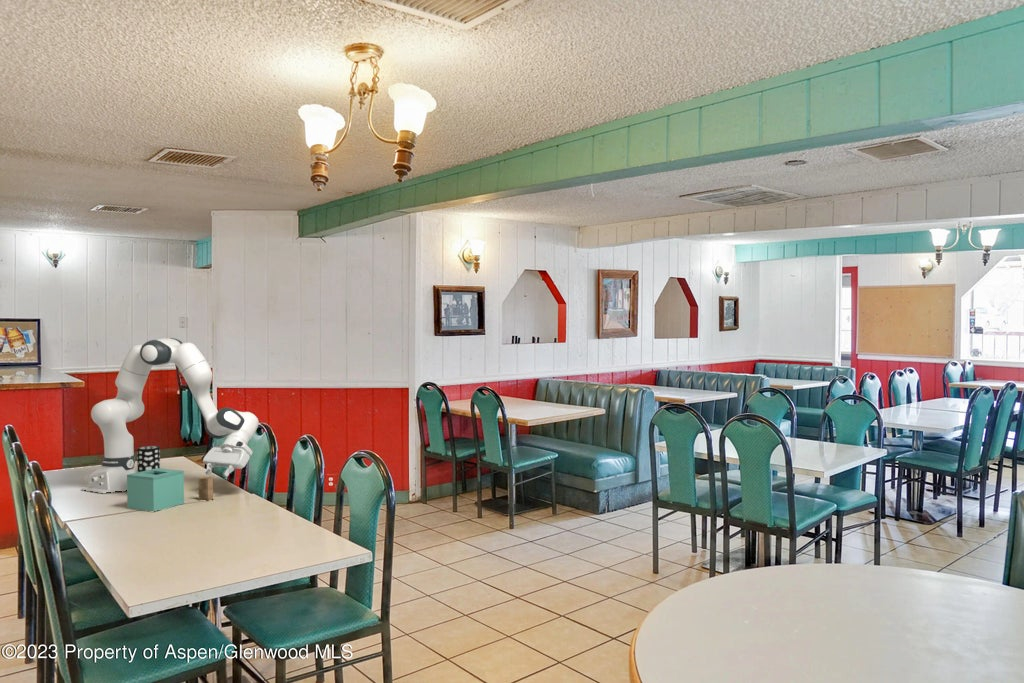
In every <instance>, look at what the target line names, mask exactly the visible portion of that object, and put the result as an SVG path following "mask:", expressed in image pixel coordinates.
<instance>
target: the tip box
mask: <svg viewBox="0 0 1024 683" xmlns="http://www.w3.org/2000/svg"><path fill="white" fill-rule="evenodd" d="M184 474H185V471H184V470H179V469H169V468H161V467H160V468H156V469H151V470H146V471H142V472H137V471H136V473H132V474H128V475H127V491H126V494H127V495H126V496H127V497H126V500H127V501H126V502H127V504H126V505H127V506H126V507H127V509H128V508H131V509H130V510H135V509H138V510H137V511H142V510H147V511H146V512H149V511H156V512H158V511H157V510H160V511H162V510H161V509H164V508H167V509H169V508H168V507H171V508H173V507H172V506H174V507H176V506H175V505H178V506H181V505H184V504H185V477H184V476H185V475H184ZM183 503H184V504H183ZM180 504H181V505H180ZM164 510H165V509H164Z"/></svg>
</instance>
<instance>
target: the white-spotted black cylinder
mask: <svg viewBox="0 0 1024 683" xmlns="http://www.w3.org/2000/svg"><path fill="white" fill-rule="evenodd" d="M136 454H137V455H136V460H137V461H136V463H137V465H136V466H137V471H136V473H137V472H142V471H146V470H151V469H156V468H161V447H160V446H159V445H147V446H139V447H137V448H136Z"/></svg>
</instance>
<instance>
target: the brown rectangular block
mask: <svg viewBox="0 0 1024 683" xmlns="http://www.w3.org/2000/svg"><path fill="white" fill-rule="evenodd" d="M212 499H213V500H214V477H210V476H208V477H207V476H201V477H198V501H200V500H206V501H205V502H210V501H209V500H212ZM213 500H212V501H213Z"/></svg>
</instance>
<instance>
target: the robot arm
mask: <svg viewBox="0 0 1024 683" xmlns="http://www.w3.org/2000/svg"><path fill="white" fill-rule="evenodd" d="M169 364H175V366H176V367H177V368H178V370H179V371H180V373H181V375H182V377H183V378H184V380H185V382H186V384H187V385H188V388H189V390H190V392H191V394H192V398H193V400H194V401H195V403H196V404H195V405H197V408H198V410H199V412H200V414H201V416H202V419H203V421H204V429H205V432H206V434H207V435H208V436H209V437H211V438H212V439H217V440H218V439H219V440H220V439H223V438H225V437H226V438H225V439H224V441H223V442H222V444H221V445H216V446H213V447H212V448H211V449H209V450H208V452H207V453H206V454H205V456H204V457H203V459H202V461H203V463H204V464H205V465H206V470H205V471H204V474H205V475H212V474H211V473H212V472H213V471H212V469H213V468H214V467H219V468H227V469H226V470H223V472H222V476H223V477H228V476H229V475H230V474H231V473H233V472H234V471H235V469H239V470H242V469H243V468H245V467H246V466H247V464H248V461H249V460H250V458H251V457H250V456H252V455H253V453H254V452H253V450H252V449H251V448H250V447H249V445H248V444H249V441H250V440H252V439H253V437H254V435H255V434H256V432H257V429H258V427H259V418H258V417H257V416H256V415H255V414H254V413H252V412H250V411H238V410H235V409H234V408H231V407H225V406H224V407H222V408H220V409H219V410H218V409H217V407H216V405H215V403H214V401H213V399H212V396H211V384H212V381H213V375H214V374H213V372H212V369H211V366H210V364H209V362H208V360H207V359H206V358H205V356H204V354H203V353H202V352H201V351H200V349H199V348H198V347H197V346H196V345H195V344H194V343H193V342H183V341H182V340H179V339H177V338H174V337H173V338H172V337H169V338H168V337H163V338H162V337H160V338H158V339H151V340H148V341H146V342H145V343H143V344H136V345H133V346H132V347H131V348H129V351H128V353H127V354H126V356H125V358H124V359H123V361H122V364H121V365H120V368H119V372H118V374H117V376H116V378H115V381H114V384H115V386H116V387H117V393H116V397H114V398H110V399H109V398H108V399H104V400H102V401H100V402H98V403H96V404H94V405H93V407H92V409H91V411H90V417H91V419H92V421H93V422H94V424H96V425H97V426H98V428H99V430H100V431H101V435H102V436H103V449H104V450H103V451H104V454H103V455H104V457H102V458H101V457H100V459H99V462H101V464H100V466H99V467H98V468H96V469H95V470H94V471H93V472H92V473H89V476H88V479H87V485H85V486H82V487H81V491H84V490H86V491H85V492H90V491H93V492H92V493H95V492H98V493H97V494H101V493H103V494H107V493H106V492H111V493H116V492H115V491H122V492H127V491H126V490H127V475H128V474H132V473H137V471H136V468H135V463H136V455H135V453H134V451H135V450H134V449H135V448H134V447H135V446H134V444H135V443H134V442H135V441H134V436H133V435H132V434H131V433H130V432H129V431H128V429H127V423H129V422H133V421H135V420H137V419H139V418H140V417H141V416H142V415H144V412H145V404H144V402H143V390H144V388H145V385H146V382H147V380H148V377H149V374H150V372H151V370H152V368H153V366H165V365H169Z"/></svg>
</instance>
